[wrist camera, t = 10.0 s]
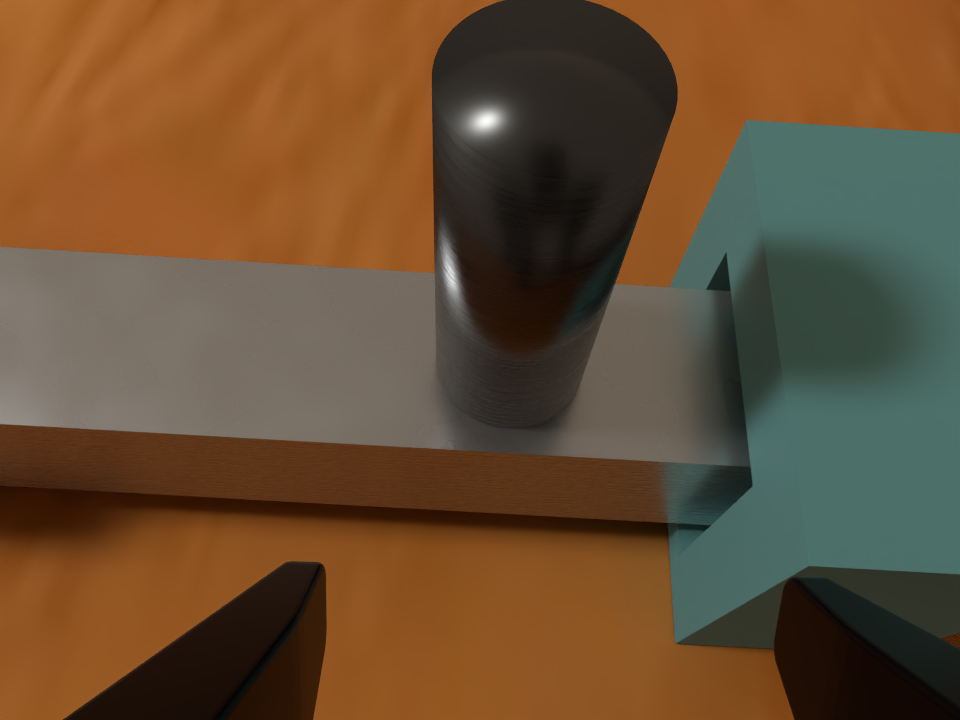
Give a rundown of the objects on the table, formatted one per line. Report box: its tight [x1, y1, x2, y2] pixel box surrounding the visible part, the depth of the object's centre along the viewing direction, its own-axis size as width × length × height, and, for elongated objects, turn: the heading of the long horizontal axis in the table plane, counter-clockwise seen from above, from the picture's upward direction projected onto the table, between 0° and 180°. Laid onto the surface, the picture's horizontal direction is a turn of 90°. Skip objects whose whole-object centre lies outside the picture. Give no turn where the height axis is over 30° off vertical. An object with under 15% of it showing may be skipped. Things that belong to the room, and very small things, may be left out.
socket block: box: [668, 120, 960, 649], centre depth 18 cm, size 5×9×8 cm, turn 177°
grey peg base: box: [0, 0, 753, 525], centre depth 15 cm, size 25×4×12 cm, turn 87°
